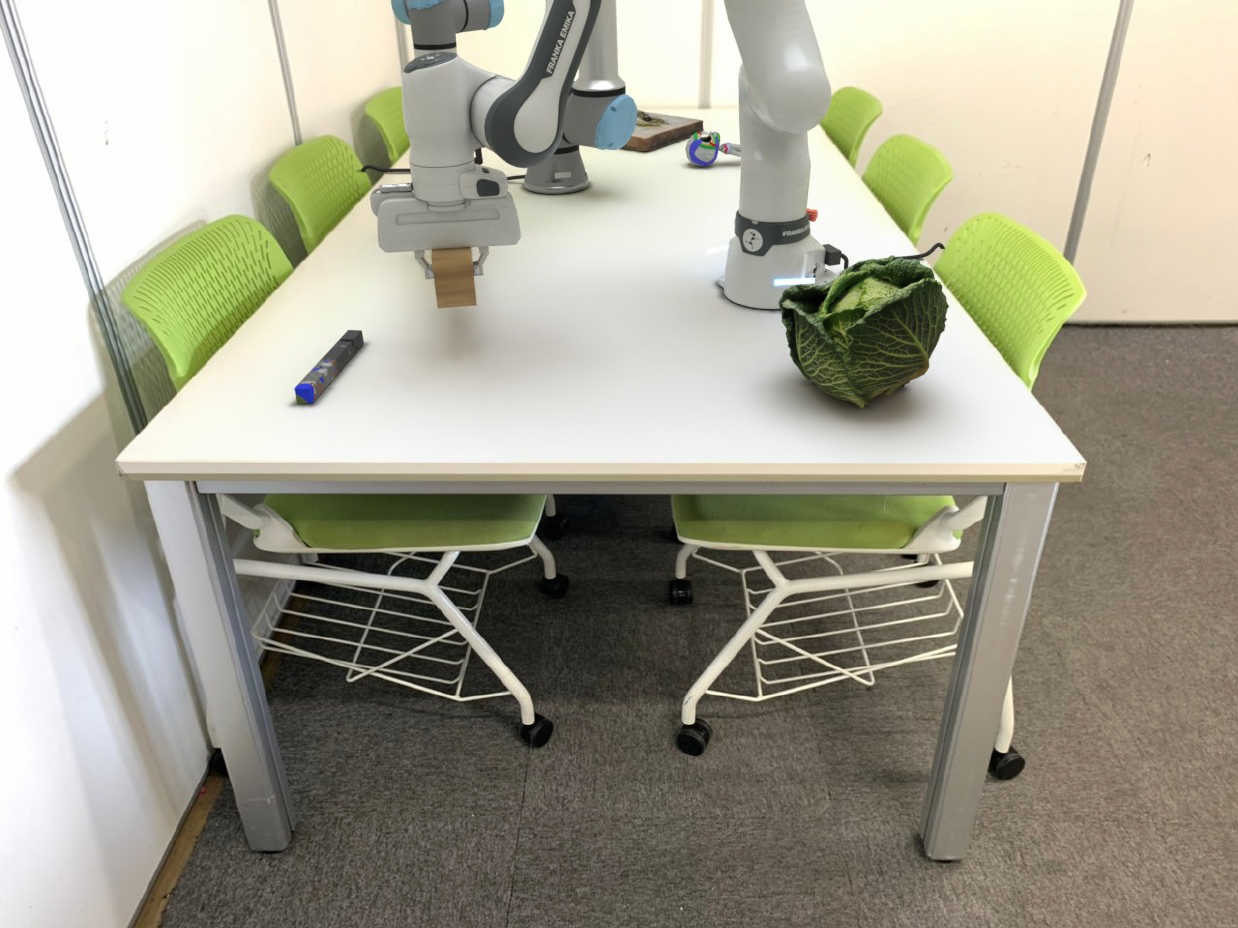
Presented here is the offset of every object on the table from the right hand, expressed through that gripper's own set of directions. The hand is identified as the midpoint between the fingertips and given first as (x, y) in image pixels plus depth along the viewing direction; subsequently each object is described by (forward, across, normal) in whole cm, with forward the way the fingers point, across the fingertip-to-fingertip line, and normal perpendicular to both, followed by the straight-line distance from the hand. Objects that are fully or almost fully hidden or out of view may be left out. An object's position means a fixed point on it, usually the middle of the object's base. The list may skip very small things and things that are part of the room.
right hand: (454, 276), depth 132 cm
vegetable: (+11, +54, -25) cm, 60 cm away
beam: (+3, 0, +23) cm, 23 cm away
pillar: (+12, -19, -5) cm, 23 cm away
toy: (+11, +74, +98) cm, 124 cm away
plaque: (+11, +52, +136) cm, 146 cm away
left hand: (+2, 0, +46) cm, 47 cm away
